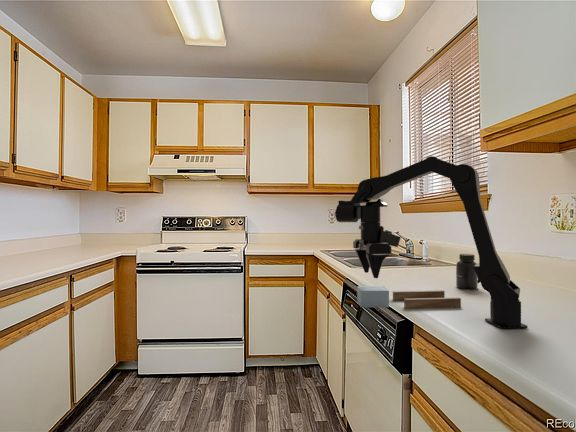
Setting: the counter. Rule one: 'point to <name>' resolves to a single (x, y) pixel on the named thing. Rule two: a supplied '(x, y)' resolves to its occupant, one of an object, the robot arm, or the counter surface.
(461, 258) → the supplement bottle
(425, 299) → the trap channel
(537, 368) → the counter surface
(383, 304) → the slate block
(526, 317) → the counter surface
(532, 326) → the counter surface
